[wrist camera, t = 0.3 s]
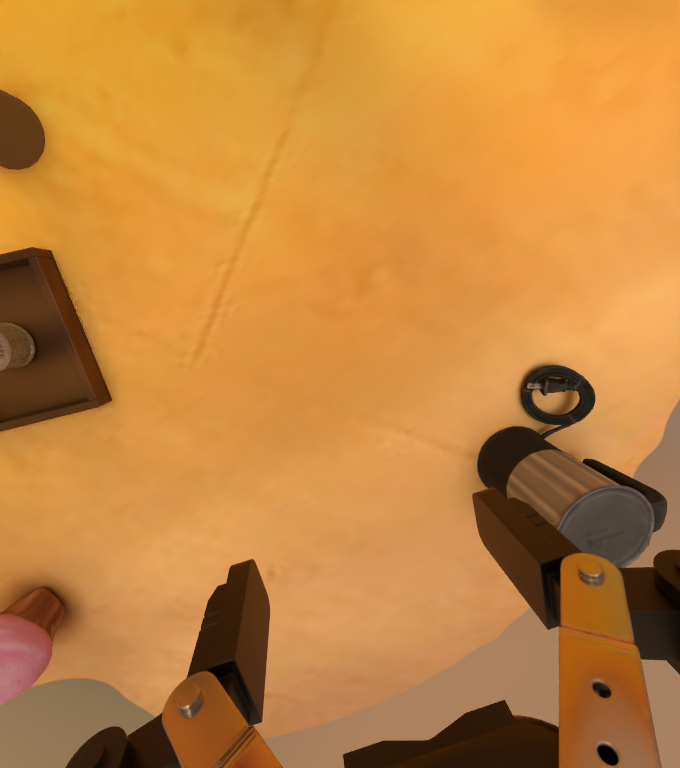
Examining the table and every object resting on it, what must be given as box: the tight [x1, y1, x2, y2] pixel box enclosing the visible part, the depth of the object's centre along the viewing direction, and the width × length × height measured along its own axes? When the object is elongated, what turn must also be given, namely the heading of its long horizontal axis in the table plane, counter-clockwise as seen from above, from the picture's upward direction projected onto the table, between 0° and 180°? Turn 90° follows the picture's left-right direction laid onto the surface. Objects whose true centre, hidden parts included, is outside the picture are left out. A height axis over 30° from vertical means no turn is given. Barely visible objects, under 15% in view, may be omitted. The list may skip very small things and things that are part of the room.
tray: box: [0, 247, 112, 431], centre depth 36 cm, size 16×14×2 cm
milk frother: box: [478, 365, 667, 568], centre depth 38 cm, size 14×16×15 cm
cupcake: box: [0, 588, 64, 705], centre depth 39 cm, size 9×9×10 cm
